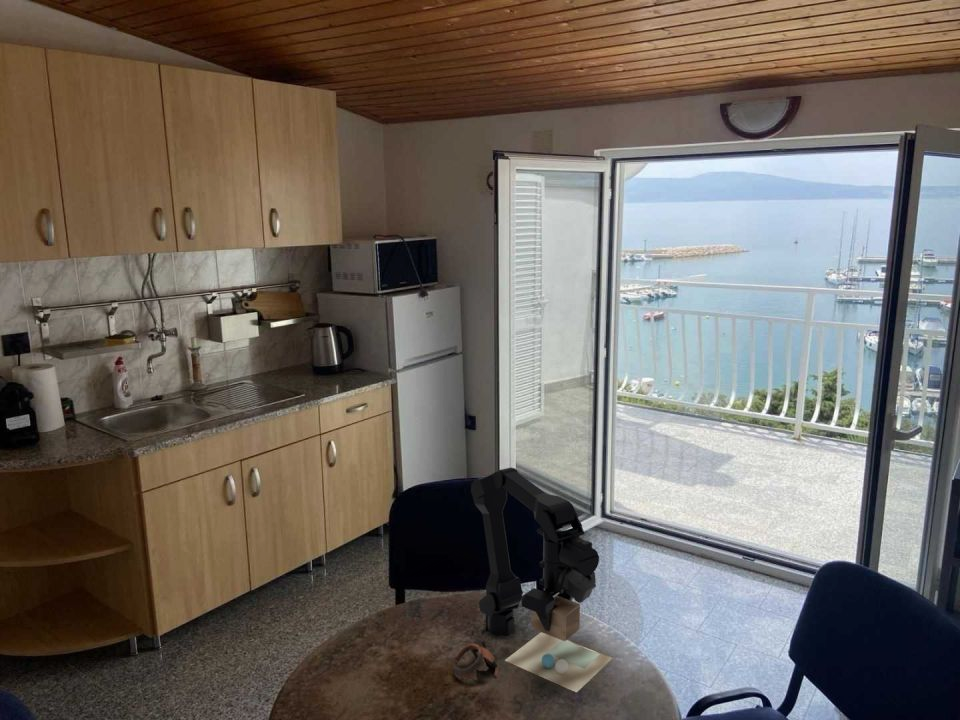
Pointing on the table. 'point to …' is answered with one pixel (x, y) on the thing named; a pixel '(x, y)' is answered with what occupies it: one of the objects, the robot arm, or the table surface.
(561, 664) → the marble ivory
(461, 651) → the pottery mug
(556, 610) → the walnut cover
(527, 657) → the serving board
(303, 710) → the table surface
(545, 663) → the marble teal
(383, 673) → the table surface
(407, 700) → the table surface
